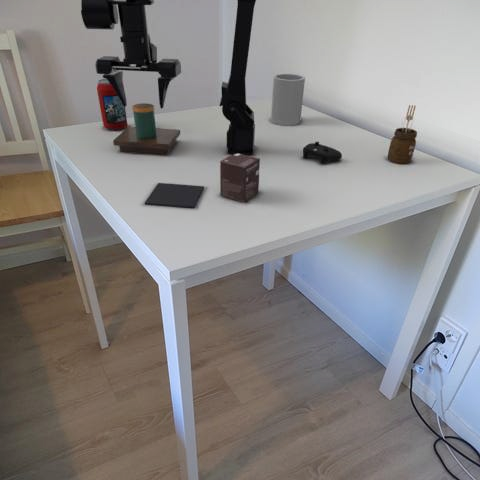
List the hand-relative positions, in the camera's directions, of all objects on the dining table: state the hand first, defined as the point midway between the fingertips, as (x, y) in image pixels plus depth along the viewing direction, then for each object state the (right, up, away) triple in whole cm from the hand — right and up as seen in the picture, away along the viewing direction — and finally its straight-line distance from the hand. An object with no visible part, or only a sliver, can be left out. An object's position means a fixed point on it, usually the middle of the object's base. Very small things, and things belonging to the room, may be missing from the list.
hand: (143, 107), depth 103 cm
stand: (0, -7, +7) cm, 10 cm away
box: (+23, -26, -14) cm, 38 cm away
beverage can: (-12, +3, +19) cm, 23 cm away
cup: (+38, +9, +28) cm, 48 cm away
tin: (0, -5, +4) cm, 7 cm away
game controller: (+43, -11, +3) cm, 45 cm away
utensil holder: (+64, -11, +4) cm, 65 cm away
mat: (+10, -26, -15) cm, 32 cm away
